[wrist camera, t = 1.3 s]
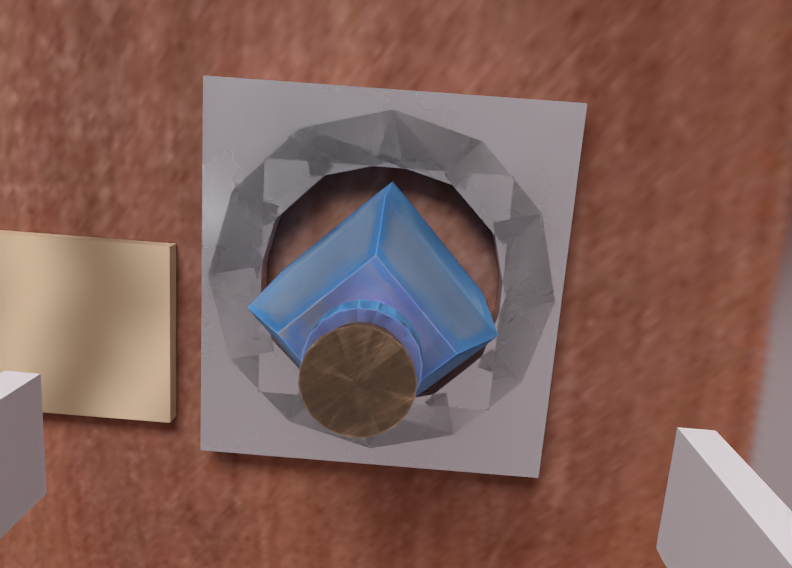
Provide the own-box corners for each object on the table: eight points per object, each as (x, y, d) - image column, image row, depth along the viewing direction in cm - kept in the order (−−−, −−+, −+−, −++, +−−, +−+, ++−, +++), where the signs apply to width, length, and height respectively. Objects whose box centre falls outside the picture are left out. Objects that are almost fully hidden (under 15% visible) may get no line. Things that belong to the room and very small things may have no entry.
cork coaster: (4, 401, 32) (-7, 408, 31) (-7, 229, 30) (-19, 232, 29) (176, 415, 32) (170, 422, 31) (176, 243, 30) (169, 246, 29)
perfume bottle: (372, 376, 31) (342, 529, 19) (282, 270, 30) (193, 364, 18) (482, 293, 30) (522, 401, 18) (392, 180, 29) (373, 218, 17)
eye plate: (208, 438, 32) (200, 450, 31) (212, 77, 28) (203, 75, 27) (534, 464, 32) (538, 477, 30) (580, 104, 28) (587, 103, 27)
